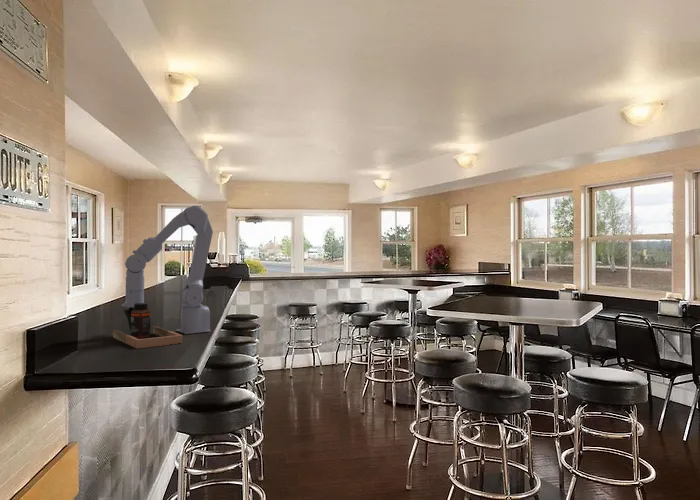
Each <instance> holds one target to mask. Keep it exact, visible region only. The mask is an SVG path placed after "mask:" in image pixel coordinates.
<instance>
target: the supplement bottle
mask: <svg viewBox="0 0 700 500" xmlns="http://www.w3.org/2000/svg"><path fill="white" fill-rule="evenodd" d="M148 307H149V306H148V303H147V302H144V303H135V304H134V310H132V312H131V331H130V336H133V337H135V338H137V339H147V338H151V310H150V309H149V308H148Z"/></svg>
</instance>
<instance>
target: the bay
mask: <svg viewBox="0 0 700 500" xmlns="http://www.w3.org/2000/svg"><path fill="white" fill-rule="evenodd" d="M152 334H153V335H155V336H156V337H149V338H145V339H137V338H135V337H133V336H131V334H130V335H129V334H128V333H125V332H123V331H120V330H118V329H113V330H112V337H113V338H114V339H115V340H117V341H119V342H121V341H122V342H121V343H124V344H126V345H129V346H131V347H133V348H134V349H138V350H139V349H145V348H153V347H162V346H163V345H164V346H171V345H170V344H172V345H179V344H178V343H181V344H183V343H184V340H183V339H184V335H183V334H182V333H181V334H180V333H179V332H175V331H172V330H168V329H165V328H163V327H160V326H157V325H155V326H154V325H153V326H152ZM157 336H158V337H157ZM164 346H163V347H164Z"/></svg>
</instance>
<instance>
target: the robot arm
mask: <svg viewBox="0 0 700 500" xmlns="http://www.w3.org/2000/svg"><path fill="white" fill-rule="evenodd" d="M208 216H209V215H208V213H207V212H206V211H205V209H204V208H203V207H201V206H199V205H192V206H188V207H186V208H185V209H183V211H182V212H179V213H178V214H177V215H176V216H174V217H173V218H172V219H171V220H170V221H169V222H168V223H167V224H166V226H165V227H164V228H163V229H162V230H161V231H160V232H159V233H158V234H157V235H156V236H154V237H148V238H144V240H143V241H142V242H143V243H142V244H141V245H139V247H138V248H137V249H136V250H135V249H133V250H132V254H131V255H129V256H128V257H127V258H126V260H125V263H124V265H125V268H126V271H125V275H126V276H125V301H124V302H123V303H121V307H124V308H127V309H124V310H123V312H124V314H125V316H126V319H127V322H128V327H129V331H130V332H131V312H132V310H134V304H135V303H145V276H144V274H145V273H144V270H145V268H146V266H147V263H150V262H151V261H152V260H153V258H155V257H156V256H157V255H158V254H159V253H161V251H162V250H163V244H164V243H165V242H166V240H168V238H170V237H171V236H172V235H173V234H174V233H175V232H176V231H177V230H179V229H180V228H183V227H185V226H190V227H191V228H192V229H193V230H194V231H195V233H196V234H197V237H196V242H195V245H194V250H193V256H192V260H191V265H190V269H189V274H188V278H187V281H186V283H185V286H184V288H183V289H182V290H181V294H180V298H181V300H182V302H183V303H182V304H181V305H180V308H181V309H180V329H179V328H178V329H175V331H176V332H177V333H181V334H184V335H188V334H199V333H207V332H211V331H212V330H211V311H210V308H209V306H207V305H203V304H202V303H203V301H204V297H205V295H204V293H203V289H204V281H203V280H204V276H205V271H206V266H207V262H208V256H209V252H210V247H211V244H212V238H213V234H214V233H213V231H214V230H213V228H212V225H211V223H210V220H209V217H208Z"/></svg>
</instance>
